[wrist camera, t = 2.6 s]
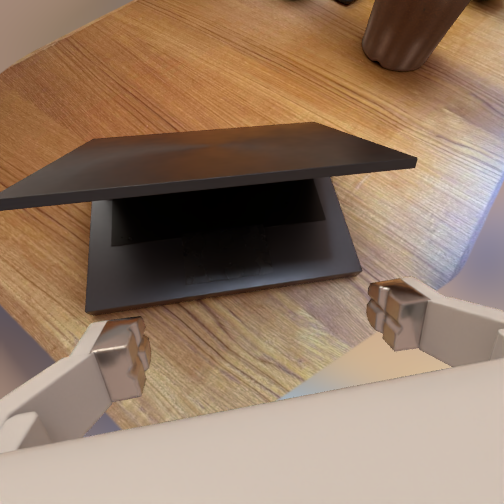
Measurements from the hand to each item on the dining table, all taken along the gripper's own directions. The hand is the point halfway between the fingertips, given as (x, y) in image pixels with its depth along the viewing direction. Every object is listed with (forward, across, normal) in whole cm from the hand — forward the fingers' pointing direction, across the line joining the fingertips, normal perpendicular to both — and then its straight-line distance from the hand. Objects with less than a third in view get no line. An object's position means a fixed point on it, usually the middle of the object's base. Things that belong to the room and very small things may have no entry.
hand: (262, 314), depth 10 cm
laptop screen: (+23, 0, -5) cm, 23 cm away
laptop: (+27, 0, +3) cm, 27 cm away
